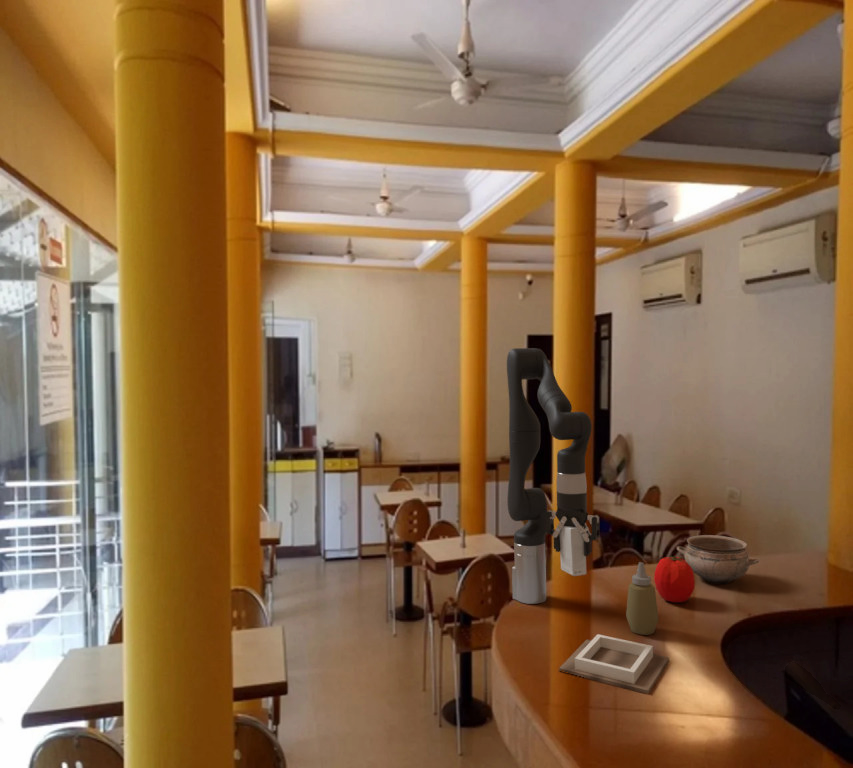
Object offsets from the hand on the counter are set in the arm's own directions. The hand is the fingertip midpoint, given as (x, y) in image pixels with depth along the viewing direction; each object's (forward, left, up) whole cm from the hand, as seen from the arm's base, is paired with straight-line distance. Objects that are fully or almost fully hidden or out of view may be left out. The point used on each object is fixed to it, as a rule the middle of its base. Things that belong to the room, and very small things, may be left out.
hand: (572, 553), depth 167 cm
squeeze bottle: (+14, +12, -22) cm, 29 cm away
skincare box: (0, 0, -5) cm, 5 cm away
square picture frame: (+14, -11, -22) cm, 28 cm away
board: (+14, -11, -22) cm, 28 cm away
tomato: (+16, +38, -22) cm, 47 cm away
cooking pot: (+23, +63, -22) cm, 71 cm away
